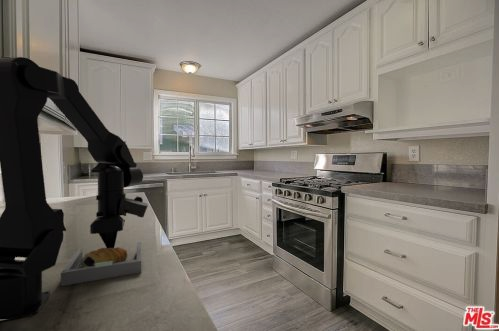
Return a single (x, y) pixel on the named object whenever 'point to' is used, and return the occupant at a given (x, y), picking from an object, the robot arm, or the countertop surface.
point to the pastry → (103, 256)
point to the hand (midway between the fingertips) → (111, 250)
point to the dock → (98, 269)
